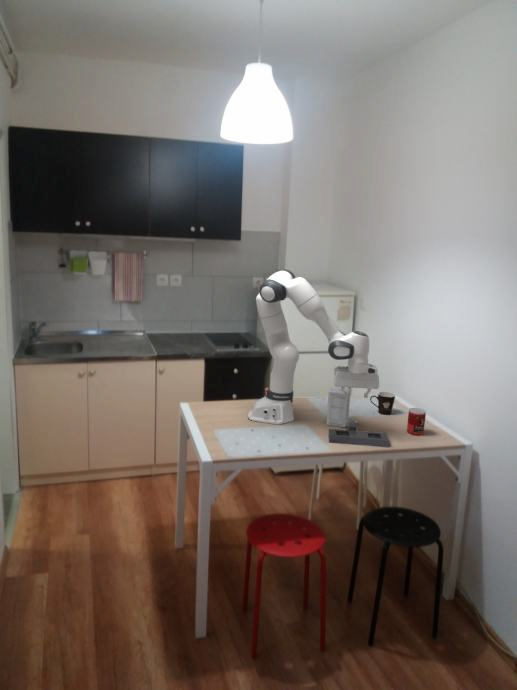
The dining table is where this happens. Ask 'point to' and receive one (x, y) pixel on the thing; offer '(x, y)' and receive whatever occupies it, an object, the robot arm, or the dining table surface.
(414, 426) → the canned food
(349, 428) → the nut block
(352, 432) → the grey slotted base block
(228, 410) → the dining table surface
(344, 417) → the supplement box
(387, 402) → the coffee mug
